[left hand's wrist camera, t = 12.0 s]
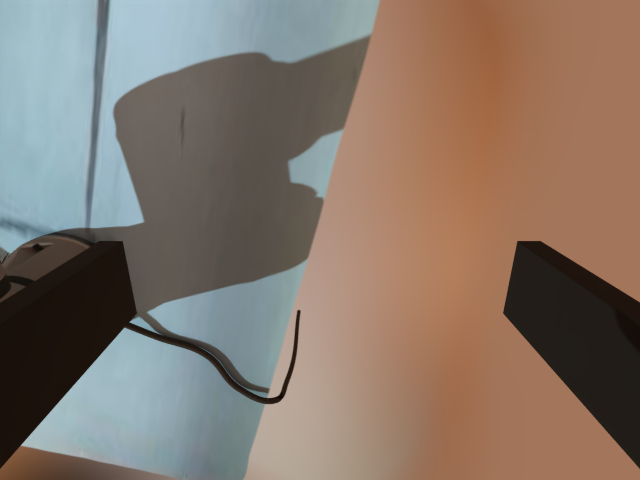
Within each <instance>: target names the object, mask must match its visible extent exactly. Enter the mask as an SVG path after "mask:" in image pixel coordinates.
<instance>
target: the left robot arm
mask: <svg viewBox="0 0 640 480" xmlns="http://www.w3.org/2000/svg"><path fill="white" fill-rule="evenodd" d="M7 255H8V254H7ZM7 255H6V256H5V258H4V259H3V261H2V263H1V261H0V468H1V467H2V466H3V465H4V464H5V463H6V462H7V460H8V459H9V458H10V457H11V456H12V455H13V454H14V452H15V451H16V450H17V449H18V448H19V447H20V446H21V444H22V443H23V442H24V441H25V440H26V439H27V438H28V437H29V435H30V434H31V433H32V432H33V431H34V430H35V429H36V427H37V426H38V425H39V424H40V423H41V422H42V421H43V419H44V418H45V417H46V416H47V415H48V414H49V413H50V411H51V410H52V409H53V408H54V407H55V406H56V405H57V404H58V402H59V401H60V400H61V399H62V398H63V397H64V396H65V394H66V393H67V392H68V391H69V390H70V389H71V388H72V386H73V385H74V384H75V383H76V382H77V381H78V380H79V378H80V377H81V376H82V375H83V374H84V373H85V372H86V371H87V369H88V368H89V367H90V366H91V365H92V364H93V363H94V361H95V360H96V359H97V358H98V357H99V356H100V355H101V353H102V352H103V351H104V350H105V349H106V348H107V347H108V346H109V344H110V343H111V342H112V341H113V340H114V339H115V338H116V336H117V335H118V334H119V333H120V332H121V331H122V330H123V328H124V327H125V328H127V329H130V330H132V331H135V332H137V333H140V334H142V335H145V336H148V337H150V338H153V339H155V340H158V341H161V342H164V343H168V344H171V345H175V346H179V347H182V348H185V349H188V350H191V351H194V352H196V353H198V354H200V355H201V356H203V357H205V358H206V359H208V360H209V361H210V362H211V363H212V364H213V365H214V366H215V367H216V369H217V370H218V371H219V373H220V374H221V375H222V377H223V378H224V379H225V381H226V382H227V383H228V384H229V385H230V386H231V387H232V388H234V389H235V390H237V391H238V392H240V393H241V394H243V395H244V396H246V397H248V398H250V399H252V400H254V401H256V402H259V403H263V404H274V403H278V402H280V401H281V400H282V399H283V398H284V396H285V394H286V391H287V387H288V384H289V381H290V379H291V376H292V373H293V369H294V365H295V361H296V356H297V348H298V335H299V321H300V314H301V311H300V310H297V315H296V323H295V335H294V346H293V353H292V358H291V362H290V366H289V369H288V372H287V375H286V378H285V380H284V383H283V386H282V390H281V392H280V394H279V395H278V396H277V397H274V398H263V397H260V396H257V395H255V394H253V393H251V392H249V391H248V390H246V389H244V388H243V387H241V386H240V385H238V384H237V383H236V382H235V381H234V380H233V379H232V378H231V377H230V376H229V375H228V373H227V372H226V371H225V369H224V368H223V366H222V365H221V364H220V363H219V361H218V360H217V359H216V358H215V357H213V356H212V355H211V354H210V353H208V352H207V351H205V350H203V349H201V348H199V347H197V346H195V345H192V344H190V343H186V342H183V341H180V340H176V339H172V338H169V337H165V336H162V335H160V334H157V333H154V332H152V331H149V330H147V329H144V328H142V327H139V326H137V325H134V324H132V323H129V322H130V320H131V319H132V318H133V317H134V316H135V315H136V314H137V312H136V307H135V302H134V297H133V291H132V286H131V281H130V276H129V271H128V266H127V261H126V256H125V251H124V246H123V241H99V242H97V243H96V244H92V243H90V242H88V241H86V240H84V239H81V238H78V237H74V236H70V235H63V234H51V235H44V236H41V237H38V238H35V239H33V240H31V241H29V242H27V243H25V244H23V245H21V246H20V247H18V248H17V249H16V250H15V251H13V252H12V253H11V254H10V255H9V257H8V258H7V259H6V257H7ZM5 259H6V260H5ZM4 260H5V261H4ZM503 314H504V315H505V316H506V317H507V318H508V319H509V320H510V322H511V323H512V324H513V325H514V326H515V327H516V328H517V330H518V331H519V332H520V333H521V334H522V335H523V336H524V338H525V339H526V340H527V341H528V342H529V343H530V344H531V345H532V347H533V348H534V349H535V350H536V351H537V352H538V353H539V355H540V356H541V357H542V358H543V359H544V360H545V361H546V363H547V364H548V365H549V366H550V367H551V368H552V369H553V371H554V372H555V373H556V374H557V375H558V376H559V377H560V378H561V380H562V381H563V382H564V383H565V384H566V385H567V386H568V388H569V389H570V390H571V391H572V392H573V393H574V394H575V396H576V397H577V398H578V399H579V400H580V401H581V402H582V403H583V405H584V406H585V407H586V408H587V409H588V410H589V411H590V413H591V414H592V415H593V416H594V417H595V418H596V419H597V421H598V422H599V423H600V424H601V425H602V426H603V427H604V429H605V430H606V431H607V432H608V433H609V434H610V435H611V437H612V438H613V439H614V440H615V441H616V442H617V443H618V444H619V446H620V447H621V448H622V449H623V450H624V451H625V452H626V454H627V455H628V456H629V457H630V458H631V459H632V460H633V461H634V463H635V464H636V465H637V466H638V467H639V468H640V302H638V301H637V300H635V299H633V298H632V297H630V296H629V295H627V294H625V293H624V292H622V291H620V290H619V289H617V288H616V287H614V286H612V285H611V284H609V283H607V282H606V281H604V280H603V279H601V278H599V277H598V276H596V275H595V274H593V273H591V272H590V271H588V270H586V269H585V268H583V267H582V266H580V265H578V264H577V263H575V262H573V261H572V260H570V259H569V258H567V257H565V256H564V255H562V254H561V253H559V252H557V251H556V250H554V249H552V248H551V247H549V246H548V245H546V244H544V243H543V242H541V241H518V242H517V246H516V251H515V256H514V261H513V266H512V271H511V276H510V281H509V286H508V291H507V297H506V302H505V307H504V312H503Z"/></svg>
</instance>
